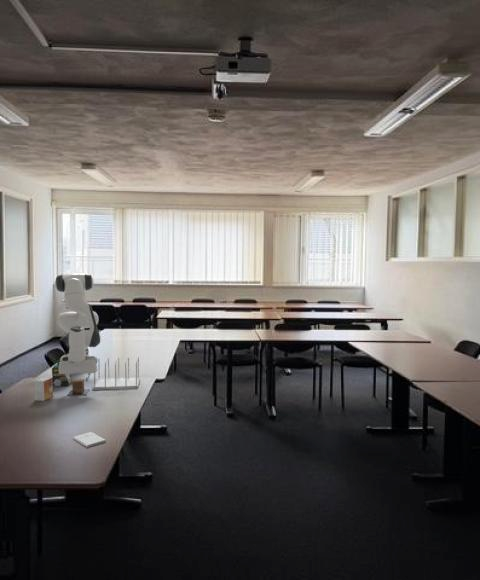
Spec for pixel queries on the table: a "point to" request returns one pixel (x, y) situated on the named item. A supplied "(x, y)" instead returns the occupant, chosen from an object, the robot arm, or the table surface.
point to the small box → (43, 389)
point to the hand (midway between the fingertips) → (78, 381)
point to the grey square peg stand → (78, 393)
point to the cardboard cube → (78, 385)
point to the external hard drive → (89, 439)
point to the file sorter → (117, 379)
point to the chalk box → (59, 376)
